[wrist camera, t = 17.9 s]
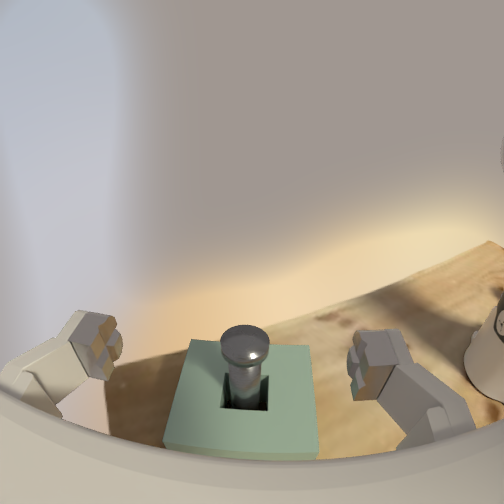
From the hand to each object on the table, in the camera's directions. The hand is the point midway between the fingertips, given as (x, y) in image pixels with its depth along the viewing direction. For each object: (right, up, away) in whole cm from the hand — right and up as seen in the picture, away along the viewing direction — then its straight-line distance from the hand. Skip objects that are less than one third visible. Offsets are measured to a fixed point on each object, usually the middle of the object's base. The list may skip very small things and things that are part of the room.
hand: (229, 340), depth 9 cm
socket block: (0, -17, +23) cm, 29 cm away
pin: (0, -17, +23) cm, 29 cm away
